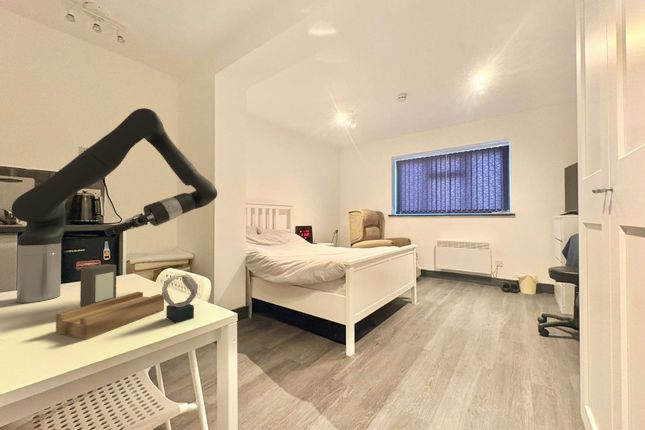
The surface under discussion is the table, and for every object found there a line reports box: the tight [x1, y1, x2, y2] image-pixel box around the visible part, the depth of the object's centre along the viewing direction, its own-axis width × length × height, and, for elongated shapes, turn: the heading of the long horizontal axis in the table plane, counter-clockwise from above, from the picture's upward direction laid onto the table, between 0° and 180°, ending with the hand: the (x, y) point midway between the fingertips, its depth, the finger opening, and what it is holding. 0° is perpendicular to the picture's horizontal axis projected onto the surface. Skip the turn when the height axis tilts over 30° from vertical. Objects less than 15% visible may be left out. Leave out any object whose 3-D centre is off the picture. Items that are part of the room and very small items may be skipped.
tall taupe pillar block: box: [79, 263, 117, 308], centre depth 70 cm, size 5×6×12 cm
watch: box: [161, 273, 199, 325], centre depth 64 cm, size 6×8×11 cm
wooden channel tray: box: [55, 291, 165, 340], centre depth 63 cm, size 10×18×4 cm, turn 163°
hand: (109, 232), depth 75 cm, fingers open, 8 cm apart
